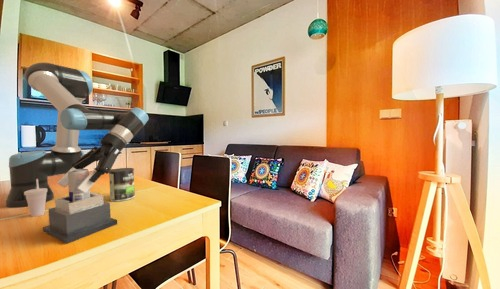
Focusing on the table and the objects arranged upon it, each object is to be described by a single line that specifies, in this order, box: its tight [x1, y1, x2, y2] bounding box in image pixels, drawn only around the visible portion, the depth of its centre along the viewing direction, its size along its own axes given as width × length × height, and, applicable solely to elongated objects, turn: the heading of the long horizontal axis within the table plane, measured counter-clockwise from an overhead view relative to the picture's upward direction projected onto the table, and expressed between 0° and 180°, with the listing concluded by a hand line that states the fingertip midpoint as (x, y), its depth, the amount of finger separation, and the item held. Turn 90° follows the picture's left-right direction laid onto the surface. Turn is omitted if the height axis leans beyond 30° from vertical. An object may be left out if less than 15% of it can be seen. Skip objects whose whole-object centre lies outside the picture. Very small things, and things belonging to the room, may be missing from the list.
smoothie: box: [24, 179, 48, 217], centre depth 79 cm, size 6×6×14 cm
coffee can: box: [108, 167, 136, 203], centre depth 99 cm, size 10×10×14 cm
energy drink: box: [67, 168, 91, 202], centre depth 68 cm, size 5×5×12 cm
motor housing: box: [42, 191, 118, 245], centre depth 68 cm, size 16×14×10 cm
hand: (70, 187), depth 65 cm, fingers open, 13 cm apart
